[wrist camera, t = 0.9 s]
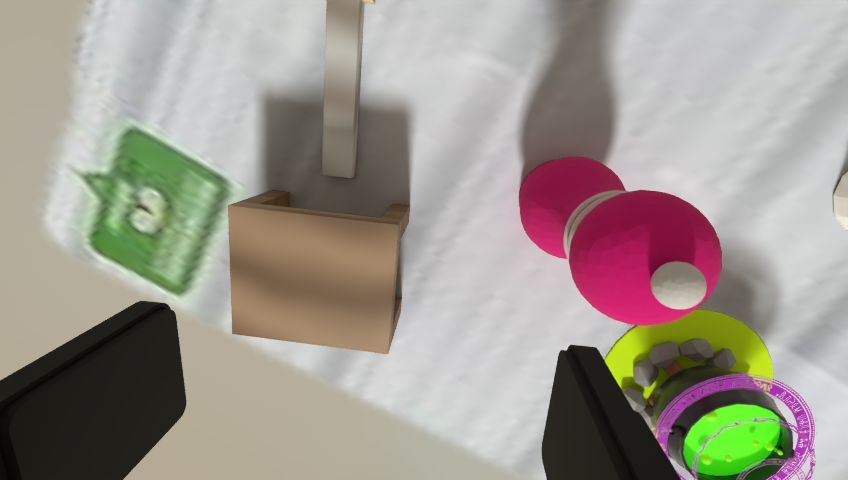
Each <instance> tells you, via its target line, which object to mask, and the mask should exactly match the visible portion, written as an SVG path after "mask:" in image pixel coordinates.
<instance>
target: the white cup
mask: <svg viewBox="0 0 848 480" xmlns="http://www.w3.org/2000/svg"><path fill="white" fill-rule="evenodd" d="M833 205H834V215H835V216H836V218H837V219H838V221H839V222H840V224H841V225H842V227H843V228H844V229H846V230H848V171H847V172H846V173H845V174H844V175H843V176H842V178H841V180H840V182H839V184H838V186H837V189H836V191H835V193H834V195H833Z"/></svg>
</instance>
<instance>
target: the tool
mask: <svg viewBox="0 0 848 480" xmlns="http://www.w3.org/2000/svg"><path fill="white" fill-rule="evenodd" d="M364 3H369V4H375V0H327V9H326V44H325V79H324V113H323V148H322V175H326V176H336V177H345V178H352V177H354V176H355V175H356V156H357V136H358V117H359V97H360V78H361V58H362V39H363V19H364Z"/></svg>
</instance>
